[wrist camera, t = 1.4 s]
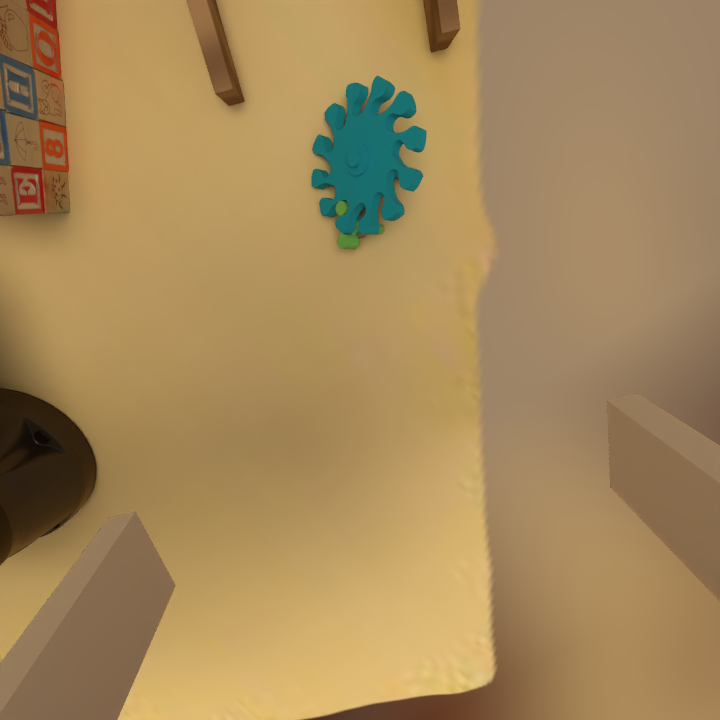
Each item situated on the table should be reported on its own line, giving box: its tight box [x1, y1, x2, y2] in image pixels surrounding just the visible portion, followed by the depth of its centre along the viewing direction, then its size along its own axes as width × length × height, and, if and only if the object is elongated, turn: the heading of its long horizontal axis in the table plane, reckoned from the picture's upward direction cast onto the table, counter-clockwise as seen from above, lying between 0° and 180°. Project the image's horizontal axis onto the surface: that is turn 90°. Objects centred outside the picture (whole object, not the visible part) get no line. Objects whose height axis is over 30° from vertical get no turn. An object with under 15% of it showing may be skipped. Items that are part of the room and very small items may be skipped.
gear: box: [312, 76, 426, 249], centre depth 31 cm, size 11×6×10 cm
